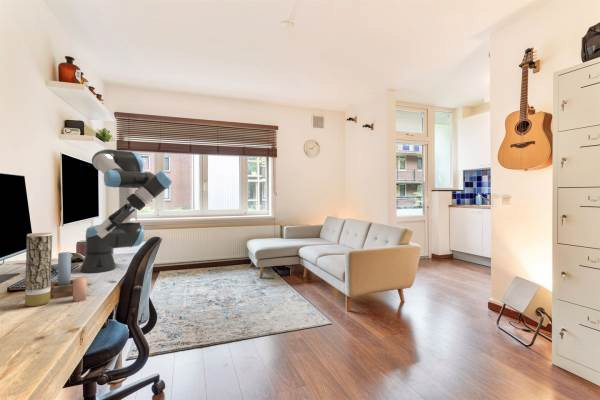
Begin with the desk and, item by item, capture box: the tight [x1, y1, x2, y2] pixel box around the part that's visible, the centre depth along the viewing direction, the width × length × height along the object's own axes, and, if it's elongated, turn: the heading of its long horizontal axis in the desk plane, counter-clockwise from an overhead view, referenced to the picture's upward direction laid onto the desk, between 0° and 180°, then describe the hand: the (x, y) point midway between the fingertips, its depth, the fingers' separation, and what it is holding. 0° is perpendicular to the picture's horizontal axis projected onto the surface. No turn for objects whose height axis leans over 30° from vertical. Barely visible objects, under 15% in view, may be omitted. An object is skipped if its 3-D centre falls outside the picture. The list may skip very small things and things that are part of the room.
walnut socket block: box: [50, 278, 74, 300], centre depth 117 cm, size 10×10×4 cm
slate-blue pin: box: [56, 251, 72, 286], centre depth 117 cm, size 4×4×16 cm
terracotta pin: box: [72, 277, 88, 303], centre depth 111 cm, size 4×4×8 cm
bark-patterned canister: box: [24, 232, 53, 307], centre depth 106 cm, size 7×7×25 cm
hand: (98, 233), depth 124 cm, fingers open, 13 cm apart
